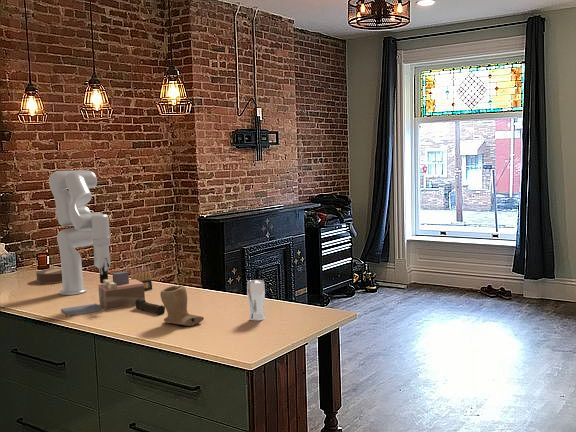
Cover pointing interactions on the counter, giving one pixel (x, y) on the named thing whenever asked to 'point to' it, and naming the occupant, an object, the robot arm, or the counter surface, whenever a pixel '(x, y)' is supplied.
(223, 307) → the counter surface
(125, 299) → the toolbox
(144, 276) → the ammunition clip
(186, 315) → the brown boot
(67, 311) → the mat
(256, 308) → the beer glass
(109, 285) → the rectangular bar
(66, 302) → the counter surface
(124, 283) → the lid
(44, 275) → the container
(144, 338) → the counter surface
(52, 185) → the robot arm
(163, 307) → the black rough elongated piece
